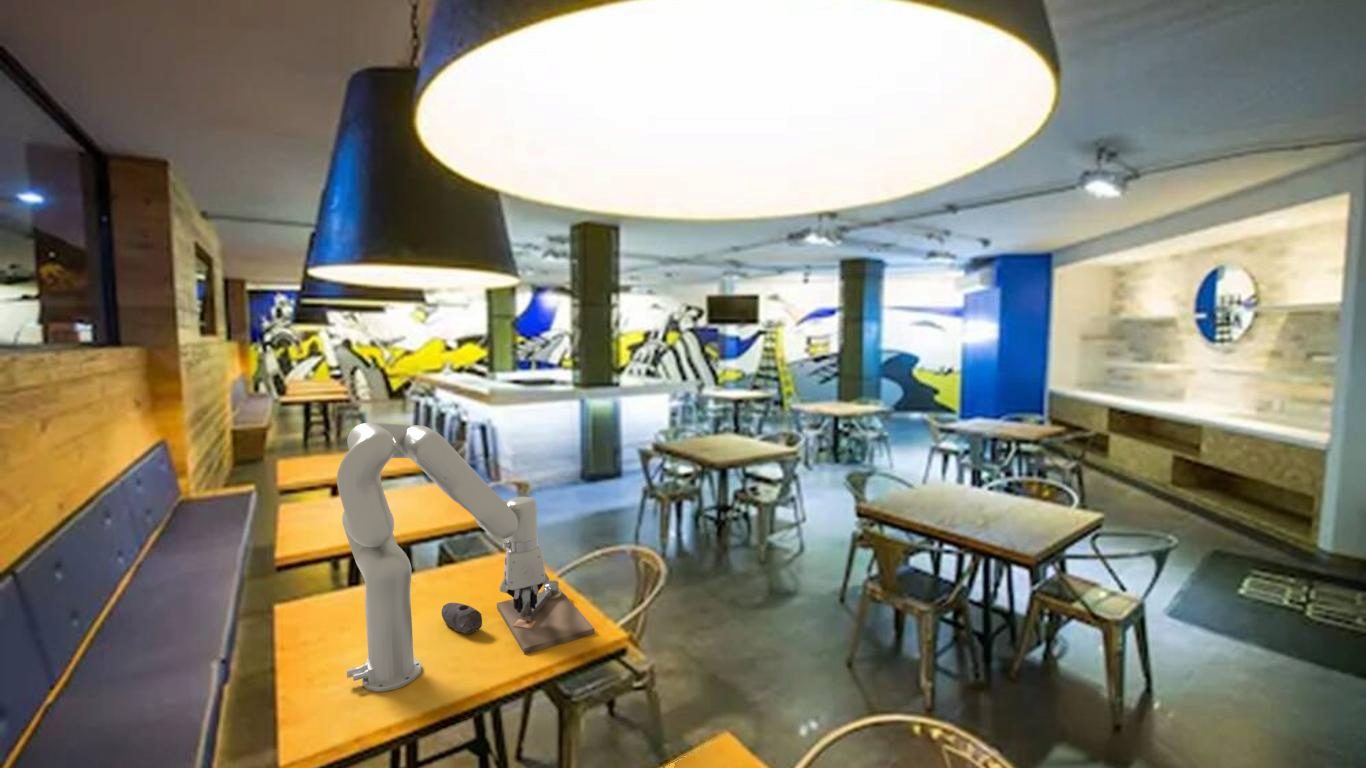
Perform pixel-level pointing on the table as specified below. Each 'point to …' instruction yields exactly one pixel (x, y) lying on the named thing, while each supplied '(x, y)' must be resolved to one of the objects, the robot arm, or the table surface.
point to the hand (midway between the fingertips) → (525, 608)
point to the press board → (546, 623)
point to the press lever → (542, 598)
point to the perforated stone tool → (462, 617)
